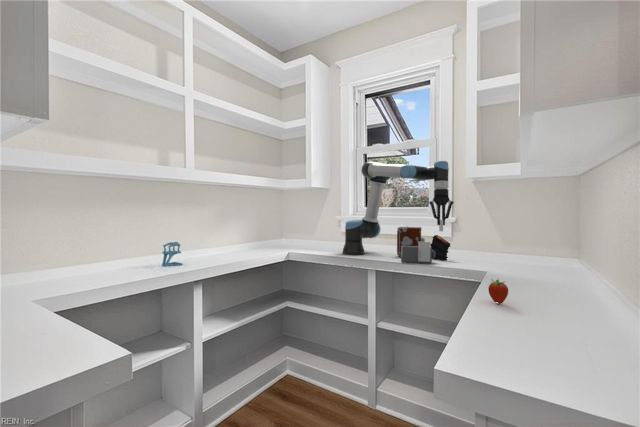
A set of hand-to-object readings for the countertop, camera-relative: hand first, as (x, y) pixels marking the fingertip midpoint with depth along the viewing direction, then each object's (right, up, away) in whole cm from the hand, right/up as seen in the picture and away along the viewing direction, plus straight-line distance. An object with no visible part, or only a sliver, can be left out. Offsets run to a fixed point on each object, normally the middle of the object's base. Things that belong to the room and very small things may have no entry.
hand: (441, 231), depth 173 cm
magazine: (+6, -19, +19) cm, 27 cm away
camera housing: (-11, -18, +7) cm, 22 cm away
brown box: (-7, -19, +30) cm, 36 cm away
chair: (-144, -17, -13) cm, 146 cm away
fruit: (-12, -18, -77) cm, 80 cm away
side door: (-9, -17, +1) cm, 19 cm away
